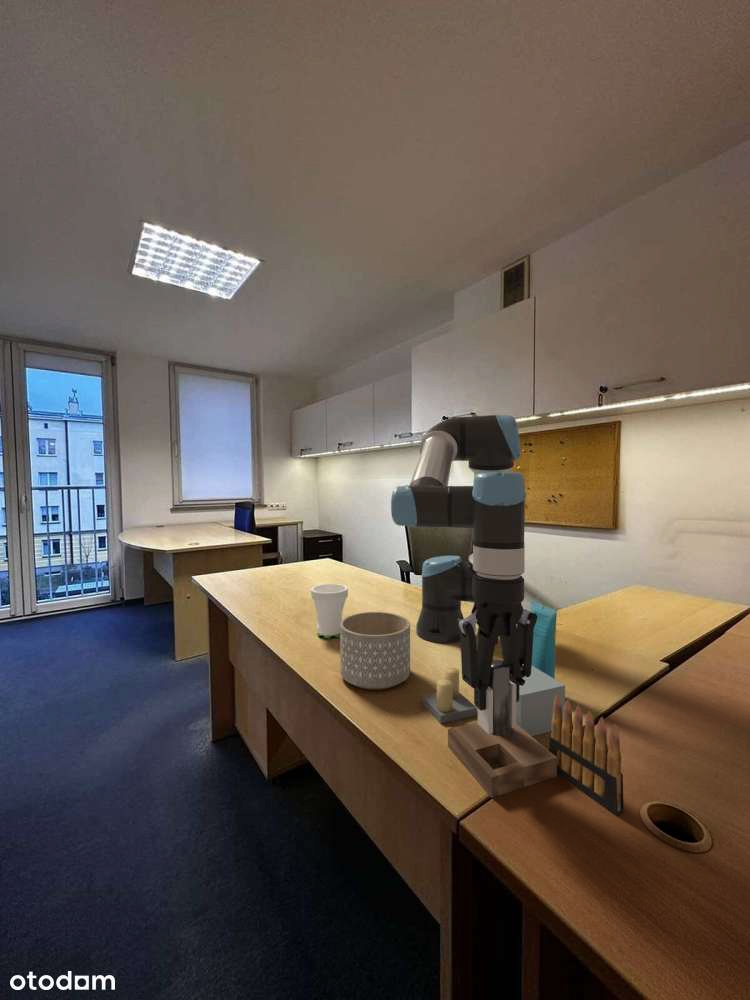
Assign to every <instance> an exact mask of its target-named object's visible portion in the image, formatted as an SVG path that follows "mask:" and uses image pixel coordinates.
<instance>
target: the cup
mask: <svg viewBox="0 0 750 1000" xmlns="http://www.w3.org/2000/svg"><path fill="white" fill-rule="evenodd" d="M310 596H311V599H312V600H313V604H314V607H315V610H316V616H317V625H316V633H317V634H316V635H317V636H318V637H319V636H322V637H323V638H325V639H326V638H327V639H326V640H330V639H331V638H332V637H334V636H335V638H340V623H341V621H342V620H343V618H342V617H343V610H344V607H345V603H346V600H347V599H348V596H349V587H348V586H347V585H345V584H339V583H322V584H318V585H314V586H313V587H311V589H310Z"/></svg>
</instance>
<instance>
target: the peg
mask: <svg viewBox="0 0 750 1000" xmlns="http://www.w3.org/2000/svg"><path fill="white" fill-rule="evenodd" d="M489 687H490V688H491V689H493V733H491V734H492V735H495V736H505V735H507V734H508V733H509V702H510V665H509V664H508V663H507V662H505V661H503V659H502V660H501V659H496V658H495V659H494V658H493V661H492V667H491V674H490V680H489Z"/></svg>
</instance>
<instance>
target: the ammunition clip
mask: <svg viewBox="0 0 750 1000" xmlns="http://www.w3.org/2000/svg"><path fill="white" fill-rule="evenodd" d="M583 722H584V721H583V712H582V708H581V706H580V705H579V704H577V705H576V708H575V710H574V715H573V711H572V706H571V701H570V700H569V698H568V699H565V706H564V712H563V720H562V706H561V700H560V697H559V695H558V694H557V695H556V697H555V700H554V707H553V718H552V732H551V736H549V741H548V742H549V743H548V744H549V745H548V750H549V751H550V752H551V753H552V754H554V755H555V756H556V757H557V776H559V777H561V778H562V779H563V780H565V781H566V782H568V783H569V784H570V785H572V786H573V787H575V788H576V789H577V790H579V791H580V792H581V793H583V794H584V795H586V796H587V797H589V798H590V799H591V800H593V801H594V802H596V803H597V804H598V805H600V806H601V807H603V809H605V810H607V811H608V812H609V813H611V814H612V815H614V816H615V817H616V816H618V815H620V814H621V813H623V812H624V811H625V805H624V773H622V755H621V746H620V742H621V739H620V733H619V729H618V726H617V724H616V723H613V724H612V726H611V728H610V732H609V743H608V738H607V727H606V721H605V719H604V717H603V716H601V717H600V718H599V720H598V722H597V728H596V734H595V721H594V717H593V714H592V710H588V712H587V714H586V717H585V723H583ZM595 735H596V737H595Z"/></svg>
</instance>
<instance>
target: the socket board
mask: <svg viewBox="0 0 750 1000" xmlns="http://www.w3.org/2000/svg"><path fill="white" fill-rule="evenodd" d="M447 747H448V748H449V749H450V750H451V752H452V753H453V754H454V755H455V756H456V758H457V759H458V760H459V761H460V763H462V765H463V766H464V767H465V768H466V770H467V771H468V772H469V774H471V776H472V777H473V778H474V780H476V781H477V783H478V784H479V785H480V786H481V787H482V788H483V790H484V791H485V792H486V794H488V796H489V797H490V798H491V799H494V798H496V797H499V796H502V795H505V794H508V793H511V792H514V791H517V790H520V789H523V788H526V787H530V786H533V785H536V784H539V783H541V782H544V781H548V780H550V779H551V780H552V779H554V778H557V777H558V774H557V757H556V756H555V755H554V754H552V753H551V752H550V751H549V749H548V748H546V747H545V746H544V745H542V743H541V742H539V741H538V740H537V739H535V738H534V737H532V736H531V735H529V734H528V733H527V732H526V731H525V730H523V729H522V728H521V727H520V726H518V725H517V724H516V727H514V728H511V727H510V726H509V733H508V734H507V735H505V736H495V735H492V734H488V733H487V732H486V731H485V730H484V729H483V728H482V727H481V726H479V725H478V721H475V722H472V723H467V724H463V725H459V726H458V725H457V726H454V727H451V728H447ZM497 763H500V764H501V765H502V767H498V768H495V769H493V767H492V766H491V765H492V764H497Z"/></svg>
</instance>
